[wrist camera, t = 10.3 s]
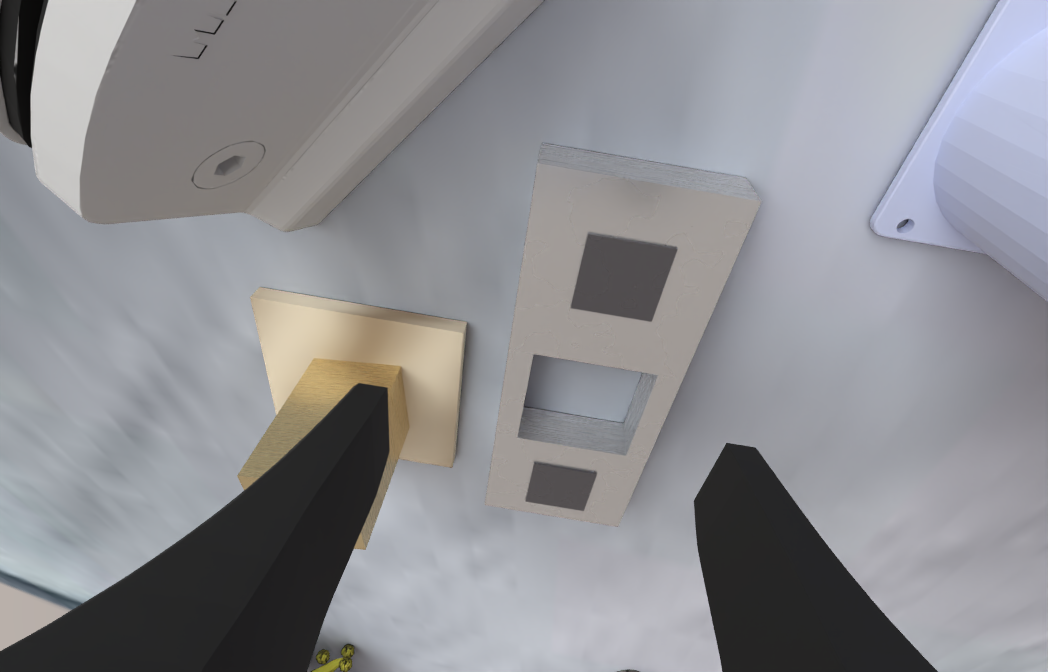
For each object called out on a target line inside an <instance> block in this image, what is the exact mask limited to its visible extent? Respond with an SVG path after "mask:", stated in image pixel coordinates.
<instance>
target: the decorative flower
mask: <svg viewBox="0 0 1048 672" xmlns="http://www.w3.org/2000/svg"><path fill="white" fill-rule="evenodd" d="M329 654H330V653H329V652H328V650H325V649H322V650H321V651H319V652H318V654H317V655H316V660H317V662H318V663H320V664H325V663H327V661H328V660H329V657H330V655H329ZM353 654H354V647H353V645H349V644H347V645H345V646H344V647H343V649H342V652H341V655H343V658H339V659H334V660H332V661H331V662H329V663H327V664H325V665H323V666H321V667H319V668H317V669H314V670H312V671H311V672H333V671H335V670H336V669H337V668H338V667H340V670H341V671H343V672H347V671H349V670H350V668H351V667H352V660H351V657H352V656H353Z"/></svg>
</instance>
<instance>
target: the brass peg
mask: <svg viewBox="0 0 1048 672" xmlns="http://www.w3.org/2000/svg"><path fill="white" fill-rule="evenodd" d="M358 383H363V384H369V385H375V386H381V387H387V388H388V415H389V447H390V452H389V455H388V459H387V462H386V465H385V469H384V472H383V476H382V479H381V482H380V485H379V489H378V492H377V495H376V498H375V500H374V502H373V505H372V507H371V509H370V512H369V514H368V517H367V519H366V521H365V524H364V526H363V528H362V531H361V533H360V535H359V538H358V540H357V542H356V544H355V547H354V549H363V550H366V547H367V544H368V542H369V539H370V536H371V533H372V531H373V528H374V525H375V522H376V520H377V517H378V514H379V511H380V508H381V506H382V503H383V500H384V497H385V495H386V492H387V489H388V486H389V484H390V481H391V478H392V475H393V472H394V470H395V467H396V464H397V461H398V459H399V456H400V453H401V450H402V448H403V445H404V442H405V439H406V437H407V434H408V431H409V428H410V426H409V419H408V412H407V405H406V398H405V391H404V384H403V377H402V370H401V366H396V365H385V364H374V363H363V362H351V361H340V360H329V359H318V358H313V360H312V361H311V363H310V365H309V366H308V368H307V369H306V371H305V372H304V374H303V375H302V377H301V378H300V380H299V382H298V383H297V385H296V386H295V388H294V389H293V391H292V392H291V394H290V395H289V397H288V398H287V400H286V402H285V403H284V405H283V406H282V408H281V409H280V411H279V412H278V414H277V415H276V417H275V418H274V420H273V422H272V423H271V425H270V426H269V428H268V429H267V431H266V432H265V434H264V435H263V437H262V439H261V440H260V442H259V443H258V445H257V446H256V448H255V449H254V451H253V452H252V454H251V455H250V457H249V459H248V460H247V462H246V463H245V465H244V466H243V468H242V469H241V471H240V472H239V474H238V475H237V476H238V478H239V480H240V483H241V485H242V487H243V489H244V490H245V489H247V488H248V487H249V486H250V485H251V484H252V483H254V482H255V481H256V480H257V479H258V478H259V477H261V476H262V475H263V474H264V473H265V472H266V471H268V470H269V469H270V468H271V467H272V466H273V465H275V464H276V463H277V462H278V461H279V460H280V459H281V458H282V457H283V456H284V455H286V454H287V453H288V452H289V451H290V450H291V449H292V448H293V447H294V446H295V445H296V444H297V443H298V442H299V441H300V440H301V439H302V438H304V437H305V436H306V435H307V434H308V433H309V432H310V431H311V430H312V429H313V428H314V427H315V426H316V425H317V424H318V423H319V422H320V421H321V420H322V419H323V418H324V417H325V416H326V415H327V414H328V413H329V412H330V411H331V410H332V409H333V408H334V407H335V406H336V405H337V403H338V402H339V401H340V400H341V399H342V398H343V397H344V396H345V395H346V394H347V393H348V392H349V391H350V390H351V388H352V387H353V386H355V385H356V384H358Z"/></svg>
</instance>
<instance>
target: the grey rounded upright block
mask: <svg viewBox="0 0 1048 672" xmlns="http://www.w3.org/2000/svg"><path fill="white" fill-rule="evenodd" d="M543 1H544V0H0V132H1V133H2V134H3V135H4V136H5V137H7V138H8V139H10V140H11V141H14V142H17V143H20V144H25V145H28V146H29V147H31V148H32V149H33V157H34V164H35V171H36V175H37V177H38V179H39V180H40V182H41V183H42V184H43V185H45V186H46V187H47V188H48V189H49V190H50V191H52V192H53V193H54V194H55V195H56V196H57V197H59V198H60V199H61V200H62V201H63V202H65V203H66V204H67V205H68V206H69V207H70V208H72V209H73V210H74V211H75V212H76V213H77V214H79V215H80V216H81V217H82V218H84V219H85V220H87V221H88V222H91V223H97V224H115V223H126V222H137V221H148V220H160V219H171V218H182V217H193V216H204V215H215V214H226V213H237V212H244V213H247V214H250V215H252V216H254V217H256V218H258V219H260V220H262V221H264V222H265V223H267V224H269V225H271V226H273V227H275V228H277V229H279V230H281V231H284V232H290V231H294V230H298V229H302V228H306V227H310V226H315V225H318V224H319V223H320V222H321V221H322V220H323V219H324V218H325V217H326V216H327V215H328V214H329V213H330V212H331V211H332V210H333V209H334V208H335V207H336V206H337V205H338V204H339V203H340V202H341V201H342V200H343V199H344V198H345V197H346V196H347V195H348V194H349V193H350V192H351V191H352V190H353V189H354V188H355V187H356V186H357V185H358V184H359V183H360V182H361V181H362V180H363V179H364V178H365V177H366V176H367V175H368V174H369V173H370V172H371V171H372V170H373V169H374V168H375V167H376V166H377V165H378V164H380V163H381V162H382V161H383V160H384V159H385V158H386V157H387V156H388V155H389V154H390V153H391V152H392V151H393V150H394V149H395V148H396V147H397V146H398V145H399V144H400V143H401V142H402V141H403V140H404V139H405V138H406V137H407V136H408V135H409V134H410V133H411V132H412V131H413V130H414V129H415V128H416V127H417V126H418V125H419V124H420V123H421V122H422V121H423V120H424V119H425V118H426V117H427V116H428V115H429V114H430V113H431V112H432V111H433V110H434V109H435V108H436V107H437V106H438V105H439V104H440V103H441V102H442V101H443V100H444V99H445V98H446V97H447V96H448V95H449V94H450V93H451V92H452V91H453V90H454V89H455V88H456V87H457V86H458V85H459V84H460V83H461V82H462V81H463V80H464V79H465V78H466V77H467V76H468V75H469V74H470V73H471V72H472V71H474V70H475V69H476V68H477V67H478V66H479V65H480V64H481V63H482V62H483V61H484V60H485V59H486V58H487V57H488V56H489V55H490V54H491V53H492V52H493V51H494V50H495V49H496V48H497V47H498V46H499V45H500V44H501V43H502V42H503V41H504V40H505V39H506V38H507V37H508V36H509V35H510V34H511V33H512V32H513V31H514V30H515V29H516V28H517V27H518V26H519V25H520V24H521V23H522V22H523V21H524V20H525V19H526V18H527V17H528V16H529V15H530V14H531V13H532V12H533V11H534V10H535V9H536V8H537V7H538V6H539V5H540V4H541V3H542V2H543Z"/></svg>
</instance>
